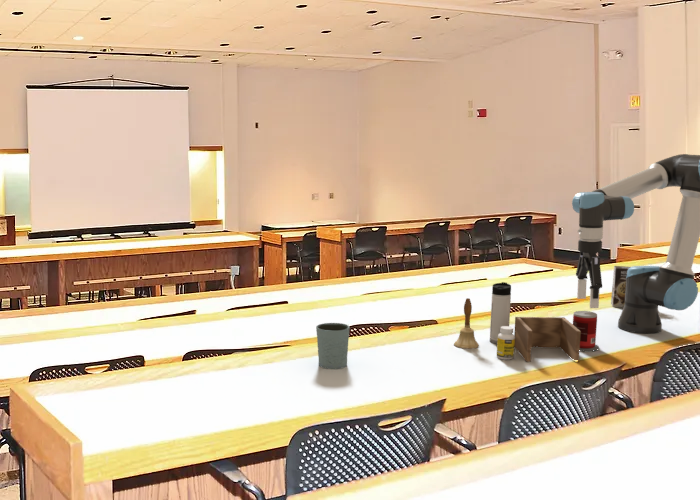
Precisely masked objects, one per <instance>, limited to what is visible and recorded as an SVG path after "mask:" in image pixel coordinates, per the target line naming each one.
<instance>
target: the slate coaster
mask: <svg viewBox="0 0 700 500" xmlns="http://www.w3.org/2000/svg"><path fill="white" fill-rule="evenodd" d="M597 349H600V347H599V345H598V344H596V343H595V347H593V348H587V349H586V348H580V351H579V352H585V351H592V352H594V351H593V350H597ZM597 351H598V350H597Z"/></svg>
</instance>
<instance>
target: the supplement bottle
mask: <svg viewBox="0 0 700 500" xmlns="http://www.w3.org/2000/svg"><path fill="white" fill-rule="evenodd" d="M500 332H501V333H500V334H498V341H497V344H496V358H497V359H501V360H505V361H507V360H513V359H514V356H515V347H514V346H515V336H514V327H513V326H510V325H509V326H502V327H501V329H500Z"/></svg>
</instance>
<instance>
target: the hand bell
mask: <svg viewBox="0 0 700 500" xmlns="http://www.w3.org/2000/svg"><path fill="white" fill-rule="evenodd" d="M472 308H473V306H472V301H471V299H470V298H465V302H464V304H463V313H464V327H463V328H461V329H460V331H459V335H458V338H457V339H456V341H454V343H453V346H454V347H456V348H459V349H467V350H471V349H473V350H474V349H477V348H479V347H480V345H479V343H478V342H477V340H476V338H475V330H474V329H473V328H471V322H470V321H471V315H472V311H473V309H472Z"/></svg>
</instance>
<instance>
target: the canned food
mask: <svg viewBox="0 0 700 500" xmlns="http://www.w3.org/2000/svg"><path fill="white" fill-rule="evenodd" d="M572 315H573V316H572V317H573V318H572V324H573V325H574V326H575V327H576V328H577V329H579V330H580V331H581V334H580V348H586V349H587V348H593V347H595V344H596V342H597V341H596V340H597V325H598V314H597V312H594V311H588V310H576V311H574V312H573V314H572Z"/></svg>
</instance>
